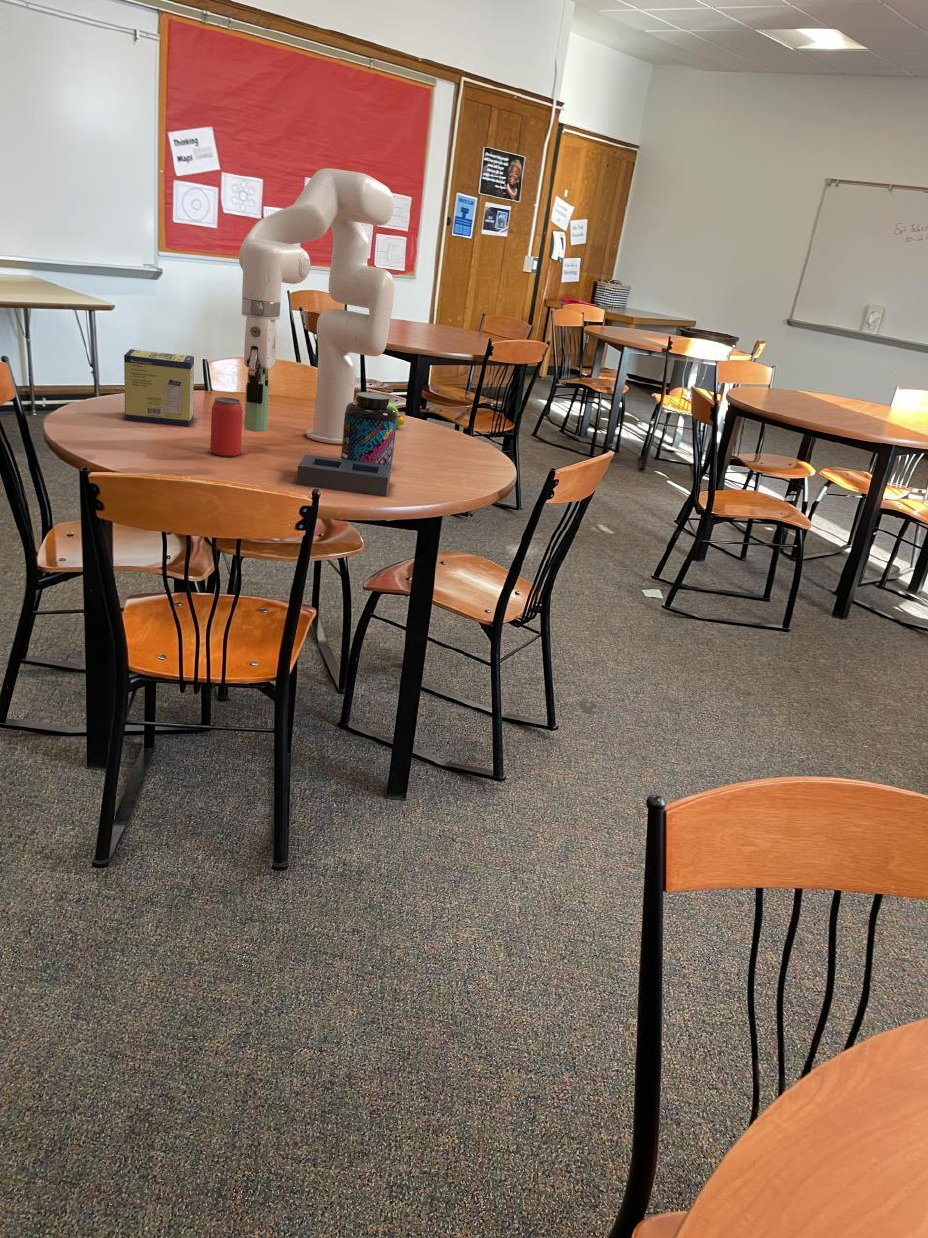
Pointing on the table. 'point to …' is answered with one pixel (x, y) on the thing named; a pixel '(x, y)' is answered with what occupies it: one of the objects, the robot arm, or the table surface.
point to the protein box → (158, 387)
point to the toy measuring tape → (399, 417)
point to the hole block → (344, 475)
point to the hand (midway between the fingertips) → (257, 399)
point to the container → (369, 429)
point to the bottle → (257, 412)
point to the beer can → (226, 427)
